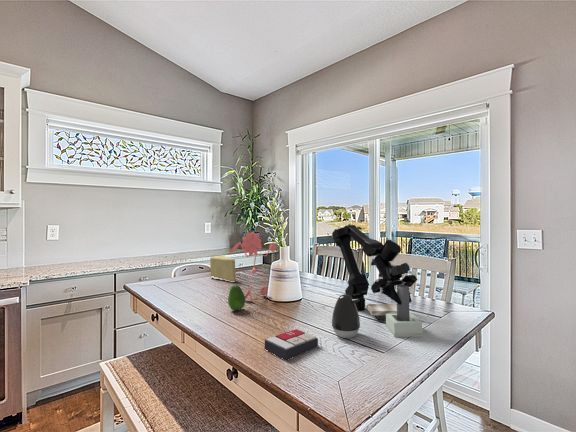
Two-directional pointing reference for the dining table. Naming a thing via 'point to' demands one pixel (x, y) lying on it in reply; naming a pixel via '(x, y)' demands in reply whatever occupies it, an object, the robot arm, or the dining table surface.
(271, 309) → the dining table surface
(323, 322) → the dining table surface
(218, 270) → the cheese
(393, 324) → the socket stand
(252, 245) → the figurine
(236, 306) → the avocado
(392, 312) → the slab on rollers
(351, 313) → the dark egg shaped device
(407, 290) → the dark grey block
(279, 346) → the red and grey box
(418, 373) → the dining table surface
